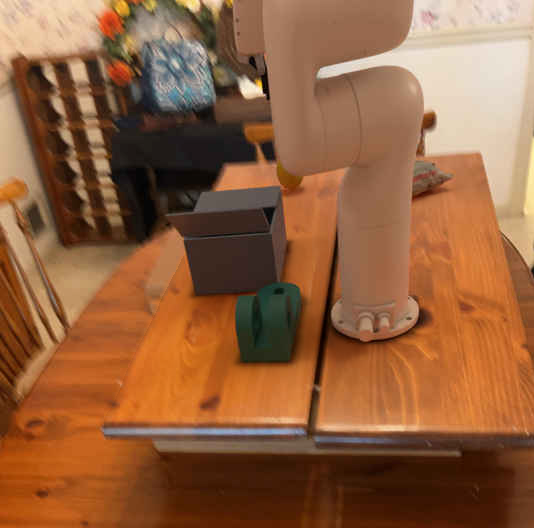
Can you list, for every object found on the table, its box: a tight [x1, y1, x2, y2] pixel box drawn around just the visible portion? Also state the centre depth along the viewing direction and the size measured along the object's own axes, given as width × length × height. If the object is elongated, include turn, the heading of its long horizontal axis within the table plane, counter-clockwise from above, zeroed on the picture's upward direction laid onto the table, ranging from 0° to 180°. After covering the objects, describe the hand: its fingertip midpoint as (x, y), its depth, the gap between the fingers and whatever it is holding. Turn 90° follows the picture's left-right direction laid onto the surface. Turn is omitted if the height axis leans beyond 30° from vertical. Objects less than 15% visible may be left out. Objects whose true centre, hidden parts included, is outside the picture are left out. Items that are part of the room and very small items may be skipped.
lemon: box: [275, 158, 305, 192], centre depth 128 cm, size 6×6×8 cm
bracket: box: [234, 281, 303, 363], centre depth 93 cm, size 18×7×8 cm, turn 171°
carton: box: [182, 185, 288, 296], centre depth 106 cm, size 17×14×10 cm
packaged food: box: [412, 159, 454, 198], centre depth 122 cm, size 9×12×5 cm
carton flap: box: [165, 206, 271, 238], centre depth 93 cm, size 8×14×1 cm
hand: (272, 97), depth 113 cm, fingers closed
